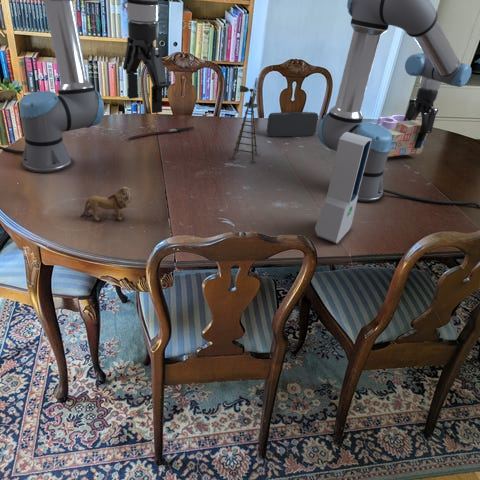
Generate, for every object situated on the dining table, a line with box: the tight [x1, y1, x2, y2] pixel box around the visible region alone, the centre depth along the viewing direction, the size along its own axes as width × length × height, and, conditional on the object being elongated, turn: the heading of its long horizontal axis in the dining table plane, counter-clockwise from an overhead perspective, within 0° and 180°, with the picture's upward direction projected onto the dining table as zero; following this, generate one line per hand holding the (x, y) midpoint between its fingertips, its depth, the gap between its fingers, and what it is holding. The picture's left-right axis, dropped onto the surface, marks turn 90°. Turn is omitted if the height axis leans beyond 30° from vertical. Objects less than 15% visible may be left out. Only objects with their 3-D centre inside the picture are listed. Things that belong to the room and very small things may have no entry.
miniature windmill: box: [231, 77, 259, 163], centre depth 172 cm, size 9×8×30 cm
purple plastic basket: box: [376, 114, 405, 129], centre depth 219 cm, size 20×12×7 cm, turn 109°
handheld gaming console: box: [266, 111, 319, 137], centre depth 203 cm, size 23×3×10 cm, turn 108°
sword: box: [128, 126, 195, 140], centre depth 193 cm, size 31×3×1 cm, turn 126°
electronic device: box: [314, 132, 372, 245], centre depth 130 cm, size 12×8×30 cm, turn 148°
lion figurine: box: [79, 186, 133, 222], centre depth 132 cm, size 15×5×9 cm, turn 110°
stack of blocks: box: [388, 119, 429, 157], centre depth 189 cm, size 21×6×12 cm, turn 115°
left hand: (144, 104), depth 130 cm, fingers open, 13 cm apart
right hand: (411, 144), depth 194 cm, fingers closed on stack of blocks, 6 cm apart
